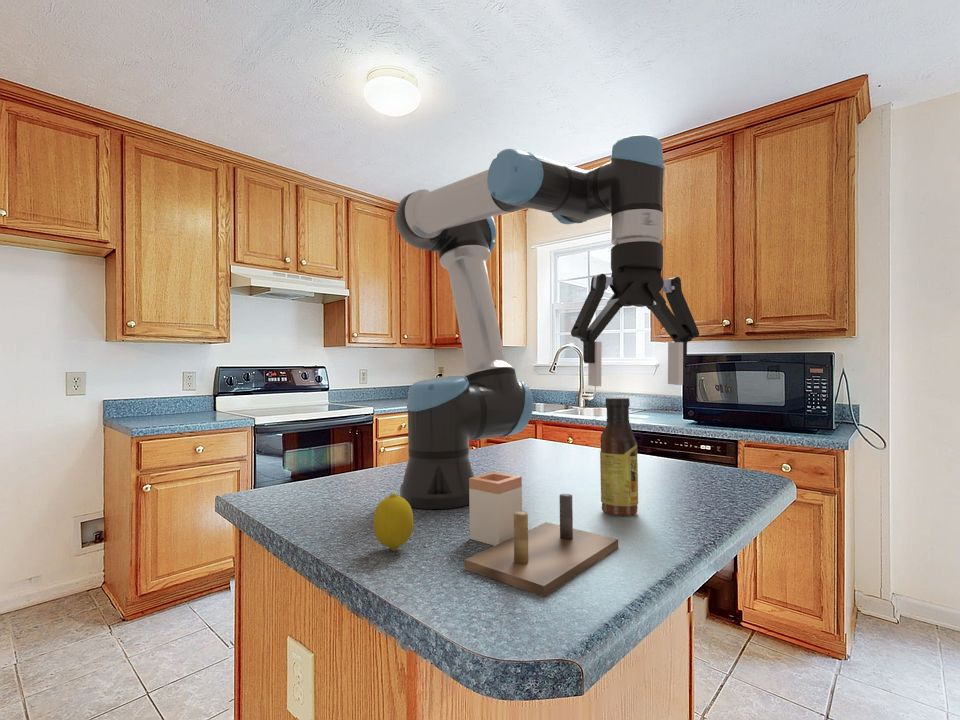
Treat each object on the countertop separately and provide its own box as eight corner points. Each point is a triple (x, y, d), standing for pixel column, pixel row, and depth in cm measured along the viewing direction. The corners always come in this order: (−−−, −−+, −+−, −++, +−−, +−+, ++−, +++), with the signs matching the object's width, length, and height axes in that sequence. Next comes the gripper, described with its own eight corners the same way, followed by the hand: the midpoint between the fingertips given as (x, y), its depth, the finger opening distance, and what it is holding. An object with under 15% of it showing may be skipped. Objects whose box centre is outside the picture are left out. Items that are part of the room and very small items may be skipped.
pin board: (464, 569, 64) (463, 512, 64) (546, 529, 78) (545, 483, 79) (544, 596, 56) (543, 532, 56) (618, 547, 71) (617, 496, 71)
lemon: (376, 544, 73) (375, 489, 73) (414, 542, 74) (414, 488, 74) (371, 559, 68) (370, 499, 68) (412, 557, 68) (412, 498, 68)
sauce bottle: (640, 519, 83) (638, 399, 83) (601, 517, 85) (600, 399, 85) (636, 507, 90) (634, 396, 90) (600, 506, 91) (598, 396, 91)
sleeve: (469, 538, 75) (469, 478, 75) (493, 528, 79) (492, 471, 79) (499, 547, 71) (498, 483, 71) (522, 536, 76) (521, 476, 76)
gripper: (570, 233, 69) (569, 388, 69) (724, 243, 75) (723, 385, 75) (549, 245, 76) (549, 384, 77) (692, 253, 82) (691, 382, 83)
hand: (635, 385), depth 76 cm, fingers open, 13 cm apart
